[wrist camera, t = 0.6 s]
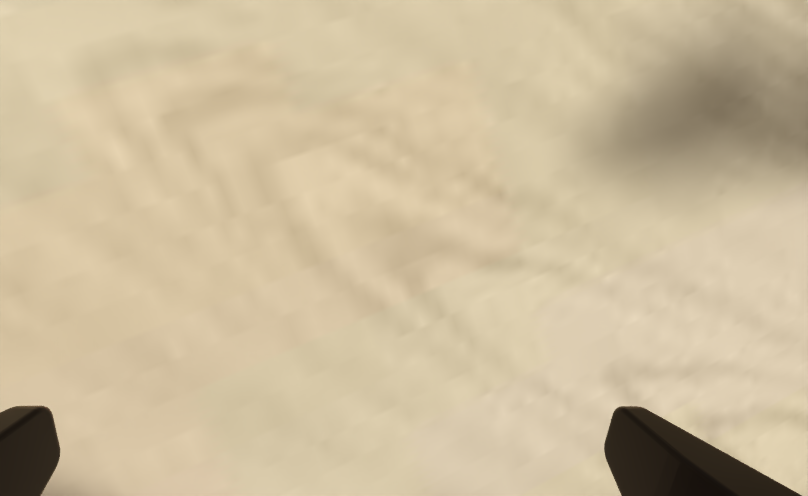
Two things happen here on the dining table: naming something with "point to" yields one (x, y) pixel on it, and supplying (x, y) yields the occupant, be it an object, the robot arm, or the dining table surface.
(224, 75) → the dining table surface
